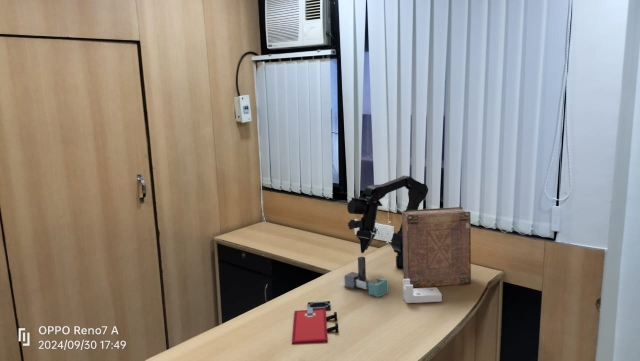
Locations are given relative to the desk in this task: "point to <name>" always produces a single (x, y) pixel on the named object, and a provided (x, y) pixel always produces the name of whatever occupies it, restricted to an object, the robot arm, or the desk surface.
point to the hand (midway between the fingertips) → (363, 251)
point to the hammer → (361, 275)
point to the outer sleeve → (351, 280)
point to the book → (437, 247)
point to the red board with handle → (313, 323)
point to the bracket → (420, 293)
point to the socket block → (378, 288)
